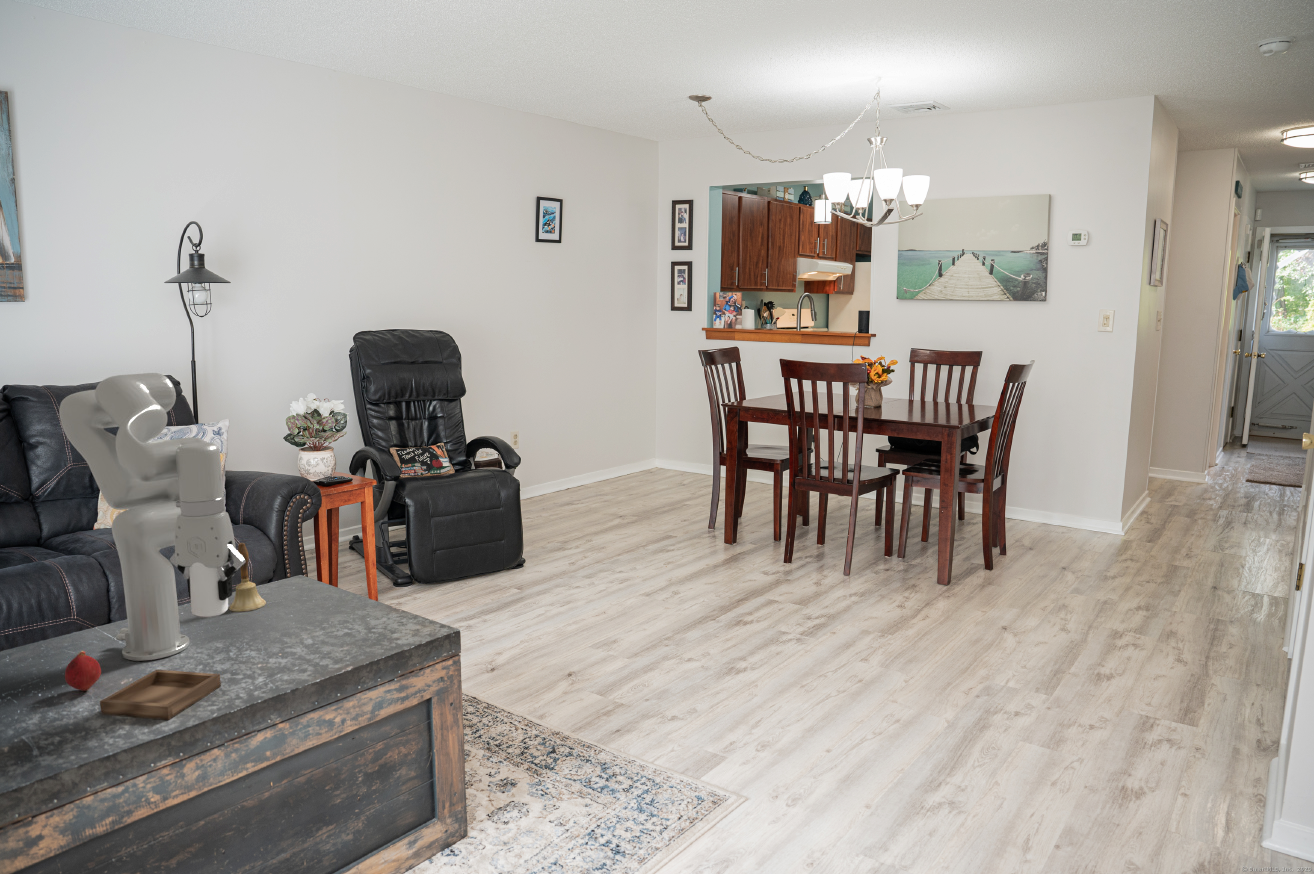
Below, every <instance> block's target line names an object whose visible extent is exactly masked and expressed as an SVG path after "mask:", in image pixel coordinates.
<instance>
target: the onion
mask: <svg viewBox="0 0 1314 874" xmlns="http://www.w3.org/2000/svg"><path fill="white" fill-rule="evenodd" d="M101 674H102V668H101V664H100V663H99V662H98V660H96V658H94V657H92V656H90V655H87V654H86V651H84V650H81V651H80V652H79V653H78V654H76V656H75V657H74V658H73V659H71V660H70V662H69V663H68V664H67V665H66V667H65V672H64V679H65V682H66V684H67V685H68V686H69V687H71V688H73V689H75V690H79V691H81V692H86V691H89V690H90V689H91V688H92V686H94V684H96V683H97V681H99V679H100V677H101Z"/></svg>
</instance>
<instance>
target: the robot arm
mask: <svg viewBox="0 0 1314 874" xmlns="http://www.w3.org/2000/svg"><path fill="white" fill-rule="evenodd" d="M176 396H177V394H176V389H175V387H174V384H173V382H172V381H171V380H170V379H169V378H168V377H167V376H166V375H163V374H162V373H158V372H147V373H146V372H144V373H135V374H134V373H131V374H119V375H112V376H109V377H106V378H104V379H103V380H101V381H100V382H99V383H98V384H97V386H96V388H95V389H88V390H84V391H79V392H78V391H77V392H75V393H72V394H69V395H67V396H66V397H65V398H63V399H62V400H61V402H60V405H59V412H58V413H59V419H60V423H61V427H62V430H63V432H64V434H65V436H66V438H67V439H68V440H69V442H70V443H71V444H72V446H73V447H74V449H76V451H77V452H78V453H79V454H80V455H81V456H82V458H83V459H84V460H85V461H86V464H87V465H88V467H89V469H90V472H91V473H92V476H93V478H94V480H95V482H96V484H97V487H98V489H99V490H100V493H101V495H102V497H103V499H104V500H105V502H106V504H107V505H108V506H109V507H110V508H112V509H114V510H119V511H122V512H120V513H118V514H117V515H116V516H114V519H113V521H112V523H111V533H112V538H113V541H114V544H115V548H116V550H117V554H118V557H119V562H120V568H121V575H122V584H123V592H124V601H125V609H126V619H127V627H122V628H121V629H120V630H119V631H118V634H116V636H115V639H116V641H120V642H121V641H123V642H124V641H125V646H124V647H123V649H122V653H121V654H122V657H123V658H124V659H125V660H128V661H136V662H139V661H142V662H143V661H145V662H146V661H154V660H158V659H159V660H160V659H163V658H164V659H165V658H167V657H170V656H173V655H176V654H179V653H181V652H183V651H184V650H186V649H187V648H188V647H189V646H190V644H191V643H190V637H188V636H187V635H184V634H182V633H181V626H180V616H179V615H180V614H179V608H178V607H179V606H178V597H177V588H176V587H177V585H176V577H175V576H176V575H175V568H174V566H175V567H176V568H177V570H178V571H179V572H180V573H181V574H182V575H183V579H184V580H186V583H187V593H188V597H189V600H191V593H190V567H191V566H192V565H193V564H194V563H197V562H199V563H202V564H203V565H204V566H205V567H209V568H217V571H218V574H219V577H220V579H221V580H219V581H218V592H219V599H220V600H225V599H227V598H228V599H229V598H231V597H232V596H233V591H234V590H233V582H232V581H233V579H232V577H234V576H235V574H236V573H237V572H238V571H239V570H240V567H241V566H242V565H243V564H244V563H245V562H246V560H245V559H244V558H243V557H242V556H241V555H240V553H239V552H238V551H237V550H238V549H237V548H236V540H235V534H234V530H233V525H232V522H231V518H230V515H229V513H228V512H227V511H226V508H225V496H224V495H225V494H224V483H223V472H222V471H223V470H222V461H221V458H222V457H221V451H220V447H219V446H218V445H217V444H216V443H213V442H207V441H205V440H203V439H202V438H200V437H195V436H194V437H193V436H190V437H183V438H171V439H165V440H157V441H152V440H154V439H155V438H156V437H158V436H160V435H161V433H162V432H163V431H164V430H165V428H166V427H167V424H168V414H167V413H168V412H169V411H170V410H171V409H172V408H173V407H174V405H175V403H176V399H177V397H176ZM117 427H118V430H117V432H116V435H115V434H112V433H111V432H108V431H107V430H106V429H109V428H117ZM172 546H173V547H174V553H173V554H172V555H171V557H170V558H169V559H167V557H165V556H164V555H163V554H162V553H161V552H160V550H161V549H165V548H168V547H172ZM231 562H233V564H231ZM173 565H174V566H173ZM225 565H226V571H225V570H224V567H223V566H225Z"/></svg>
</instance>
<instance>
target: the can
mask: <svg viewBox="0 0 1314 874" xmlns="http://www.w3.org/2000/svg"><path fill="white" fill-rule="evenodd" d="M223 567H224V570H225V571H226V565H225V566H223ZM219 580H221V579H220V577H219V574H218V571H217V568H209V567H205V566H204V565H203V564H202V563H199V562H197V563H194V564H193V565H192V566H191V567H190V593H191V599H190V611H191V614H192V615H193V616H195V617H196V618H214V617H219V616H221V615H223V614H225V613H226V612H227V611H228V609H229V598H227V599H225V600H220V599H219V592H218V581H219Z"/></svg>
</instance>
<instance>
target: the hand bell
mask: <svg viewBox="0 0 1314 874" xmlns="http://www.w3.org/2000/svg"><path fill="white" fill-rule="evenodd" d="M236 550H237V551H238V552H239V553H240V555H241V556H242V557H243V558H244V559H245V560H246V562H245V563H244V564H243V565H242V566H241V567H240V568H239V570H240V580H241V581H240V583H239V584H237V585H236V586H235V595H234V599H233V601H232V603H231V604H230V605H229V606H228V609H229V611H231V612H236V613H242V612H243V613H245V612H250V611H255V610H258V609H262V608H263V607H265V605H266V604H267V602H266V600H265V599H263V598H262V597H261V595H260V594H259V592H258V590H257V585H256V583H255V582H251V581H250V579H249V570H248V566H249V561H250V560H249V558H250V557H249V551H248V548H247V546H246V544H245V542H239V543H238V547H237V549H236Z"/></svg>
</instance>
